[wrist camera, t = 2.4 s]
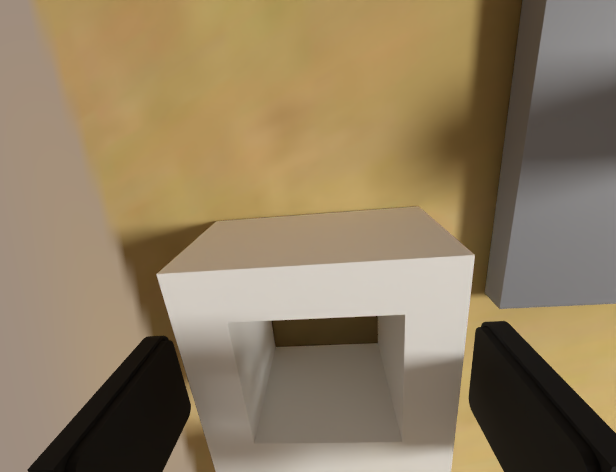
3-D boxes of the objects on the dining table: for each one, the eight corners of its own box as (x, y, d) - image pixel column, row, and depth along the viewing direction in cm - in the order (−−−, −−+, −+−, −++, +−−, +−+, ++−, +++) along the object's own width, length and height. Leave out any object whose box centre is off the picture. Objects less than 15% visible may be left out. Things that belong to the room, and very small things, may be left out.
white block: (216, 221, 11) (156, 274, 7) (418, 206, 10) (475, 255, 6) (248, 374, 13) (216, 475, 9) (412, 368, 12) (450, 475, 9)
